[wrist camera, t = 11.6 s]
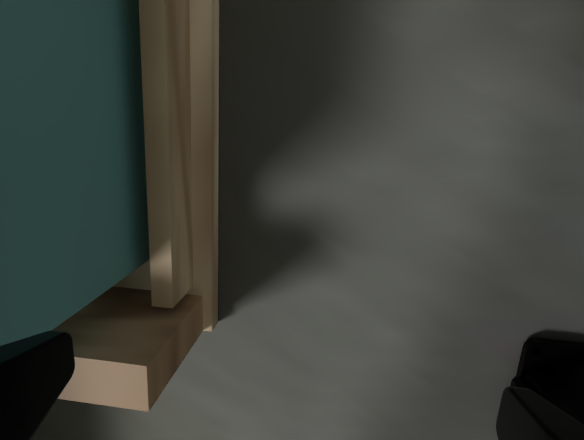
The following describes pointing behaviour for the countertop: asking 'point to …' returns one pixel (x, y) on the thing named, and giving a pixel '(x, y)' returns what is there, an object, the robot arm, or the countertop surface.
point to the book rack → (162, 221)
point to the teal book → (68, 158)
